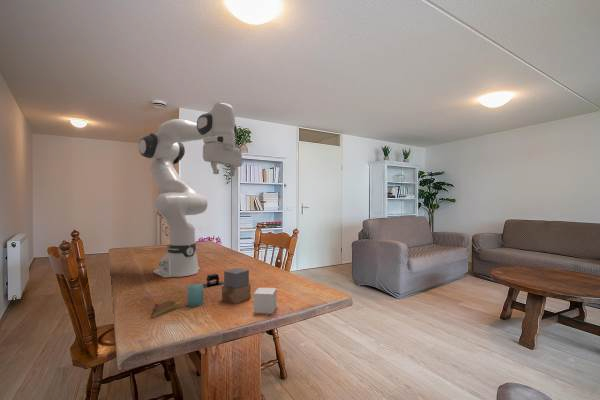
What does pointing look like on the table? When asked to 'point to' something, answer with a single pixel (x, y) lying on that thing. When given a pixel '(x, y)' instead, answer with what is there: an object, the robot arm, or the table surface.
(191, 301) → the teal cylinder
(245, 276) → the tower upper block
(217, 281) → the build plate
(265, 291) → the white cube
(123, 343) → the table surface
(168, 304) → the shard
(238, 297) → the tower lower block
